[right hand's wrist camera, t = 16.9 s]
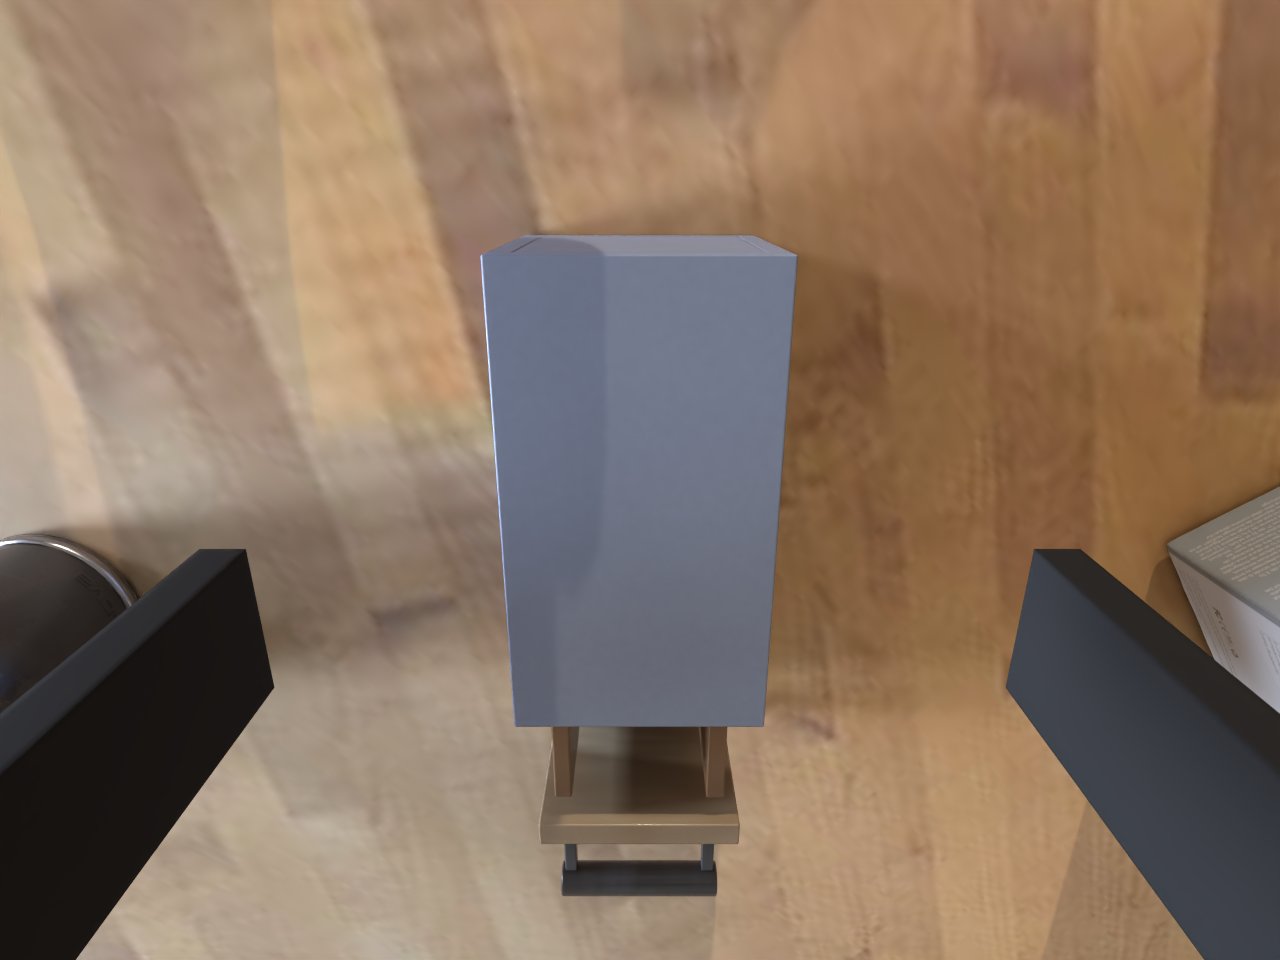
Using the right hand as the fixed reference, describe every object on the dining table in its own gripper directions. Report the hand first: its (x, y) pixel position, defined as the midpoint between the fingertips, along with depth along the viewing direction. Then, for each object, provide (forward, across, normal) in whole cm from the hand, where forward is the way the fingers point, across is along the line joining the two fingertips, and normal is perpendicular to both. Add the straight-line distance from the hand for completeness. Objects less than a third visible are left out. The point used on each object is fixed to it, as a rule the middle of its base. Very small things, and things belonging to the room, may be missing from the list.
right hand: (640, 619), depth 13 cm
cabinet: (+26, 0, -5) cm, 26 cm away
